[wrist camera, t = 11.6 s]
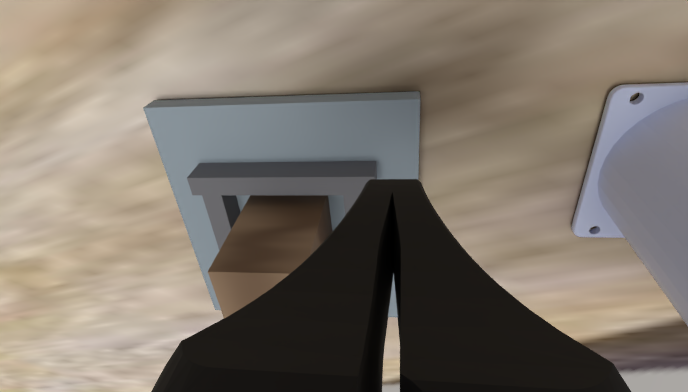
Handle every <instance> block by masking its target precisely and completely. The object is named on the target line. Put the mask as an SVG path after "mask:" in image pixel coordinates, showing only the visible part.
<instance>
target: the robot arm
mask: <svg viewBox="0 0 688 392" xmlns="http://www.w3.org/2000/svg"><path fill="white" fill-rule="evenodd" d="M638 92H639V96H638V98H637V99H635V100H634V101H630V98H631V96H632V95H633V94H635V93H638ZM594 226H597V227H596V228H594V229H591V230H590V228H591V227H594ZM572 231H573V232H574V234H575V235H576V236H578V237H609V238H626V240H627V241H628V243H629V244H630V245H631V247H632V248H633V250H634V251H635V253H636V254H637V255H638V257H639V258H640V260H641V261H642V262H643V264H644V265H645V267H646V268H647V269H648V271H649V272H650V274H651V275H652V276H653V278H654V279H655V281H656V282H657V284H658V285H659V286H660V288H661V289H662V291H663V292H664V293H665V295H666V296H667V298H668V299H669V300H670V302H671V303H672V305H673V306H674V307H675V309H676V310H677V312H678V313H679V315H680V316H681V317H682V319H683V320H684V322H685V323H686V324H687V326H688V82H685V83H656V84H627V85H619V86H617V87H615V88H614V89H613V90H612V91H611V92H610V93H609V95H608V97H607V101H606V105H605V108H604V112H603V115H602V119H601V122H600V126H599V130H598V133H597V137H596V140H595V144H594V147H593V151H592V155H591V158H590V162H589V165H588V169H587V173H586V176H585V180H584V183H583V187H582V190H581V194H580V198H579V201H578V205H577V208H576V212H575V215H574V219H573V223H572ZM393 274H394V282H395V293H396V304H397V315H398V326H399V337H400V392H631V391H630V389H629V388H628V386H627V384H626V383H625V381H624V380H623V378H622V377H621V375H620V374H619V372H618V371H617V369H616V367H615V366H614V364H613V363H612V362H610V361H608V360H607V359H605V358H603V357H602V356H600V355H598V354H597V353H595V352H594V351H592V350H590V349H589V348H587V347H585V346H584V345H582V344H580V343H579V342H577V341H575V340H574V339H572V338H571V337H569V336H567V335H566V334H564V333H562V332H561V331H559V330H558V329H556V328H555V327H553V326H552V325H551V324H549V323H548V322H546V321H545V320H543V319H542V318H541V317H539V316H538V315H536V314H535V313H534V312H532V311H531V310H529V309H528V308H527V307H525V306H524V305H523V304H522V303H520V302H519V301H518V300H517V299H516V298H514V297H513V296H512V295H511V294H509V293H508V292H507V291H506V290H505V289H503V288H502V287H501V286H500V285H499V284H497V283H496V282H495V281H494V280H493V279H492V278H491V277H490V276H489V275H488V274H487V273H486V272H485V271H484V270H483V269H482V268H481V267H480V266H479V265H478V264H477V263H476V262H475V261H474V260H473V259H472V258H471V257H470V256H469V255H468V253H467V252H466V251H465V250H464V249H463V248H462V246H461V245H460V244H459V243H458V241H457V240H456V239H455V238H454V237H453V235H452V234H451V233H450V231H449V230H448V229H447V227H446V226H445V224H444V223H443V221H442V220H441V218H440V217H439V216H438V214H437V213H436V211H435V209H434V208H433V206H432V204H431V203H430V201H429V199H428V197H427V195H426V193H425V191H424V189H423V187H422V184H421V182H420V181H419V180H418V179H370V180H369V181H368V182H367V183H366V184H365V186H364V188H363V190H362V192H361V193H360V195H359V196H358V198H357V200H356V201H355V203H354V204H353V206H352V207H351V208H350V210H349V211H348V212H347V214H346V215H345V216H344V218H343V219H342V221H341V222H340V223H339V224H338V226H337V227H336V228H335V229H334V230H333V231H332V233H331V234H330V235H329V236H328V237H327V238H326V240H325V241H324V242H323V243H322V244H321V245H320V246H319V247H318V248H317V249H316V250H315V251H314V252H313V253H312V254H311V255H310V256H309V257H308V258H307V259H306V260H305V261H304V262H303V263H302V264H301V265H300V266H298V267H297V268H296V269H295V270H294V271H293V272H291V273H290V274H289V275H288V276H287V277H285V278H284V279H283V280H281V281H280V282H279V283H278V284H276V285H275V286H274V287H273V288H271V289H270V290H268V291H267V292H265V293H264V294H263V295H261V296H260V297H258V298H257V299H255V300H254V301H252V302H251V303H249V304H247V305H246V306H244V307H243V308H241V309H239V310H238V311H236V312H235V313H233V314H231V315H229V316H228V317H226V318H224V319H222V320H220V321H219V322H217V323H215V324H213V325H211V326H209V327H207V328H206V329H204V330H202V331H200V332H198V333H196V334H194V335H193V336H191V337H189V338H187V339H185V340H182V341H181V343H180V344H179V346H178V347H177V349H176V351H175V352H174V353H173V355H172V356H171V358H170V359H169V361H168V362H167V364H166V366H165V368H164V369H163V371H162V373H161V375H160V376H159V378H158V380H157V382H156V384H155V386H154V388H153V390H152V392H382V372H383V354H384V344H385V336H386V328H387V321H388V313H389V305H390V298H391V290H392V282H393Z"/></svg>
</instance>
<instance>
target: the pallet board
mask: <svg viewBox="0 0 688 392" xmlns="http://www.w3.org/2000/svg"><path fill="white" fill-rule="evenodd" d="M143 109H144V111H145V114H146V117H147V120H148V123H149V125H150V128H151V131H152V134H153V137H154V139H155V142H156V145H157V148H158V151H159V154H160V156H161V159H162V162H163V165H164V168H165V170H166V173H167V176H168V179H169V182H170V184H171V187H172V190H173V193H174V196H175V198H176V201H177V204H178V207H179V210H180V212H181V215H182V218H183V221H184V224H185V226H186V229H187V232H188V235H189V238H190V240H191V243H192V246H193V249H194V252H195V254H196V257H197V260H198V263H199V266H200V268H201V271H202V274H203V277H204V280H205V282H206V285H207V288H208V291H209V294H210V296H211V299H212V302H213V305H214V308H215V310H221V308H220V305H219V303H218V300H217V297H216V294H215V291H214V288H213V286H212V283H211V280H210V277H209V274H208V270H209V268H210V267H211V265H212V263H213V261H214V259H215V258H216V256H217V254H218V252H219V250H220V249H221V247H222V245H223V243H224V241H225V240H226V238H227V236H228V234H229V233H230V231H231V229H232V227H233V225H234V224H235V222H236V220H237V218H238V216H239V215H240V213H241V211H242V209H243V207H244V206H245V204H246V202H247V200H248V199H249V197H250V195H328V199H329V207H330V215H331V224H332V231H333V230H334V229H335V228H336V227H337V226H338V224H339V223H340V222H341V221H342V219H343V218H344V216H345V215H346V214H347V212H348V211H349V210H350V208H351V207H352V206H353V204H354V203H355V201H356V200H357V198H358V196H359V195H360V193H361V192H362V190H363V188H364V186H365V184H366V183H367V182H368V181H369V180H370V179H418V173H419V133H420V91H413V92H384V93H356V94H327V95H298V96H269V97H240V98H211V99H182V100H154V101H152V102H151V103H149V104H148V105H147V106H145V107H144V108H143ZM388 317H398V315H397V304H396V293H395V282H394V274H393V282H392V290H391V298H390V305H389V313H388Z"/></svg>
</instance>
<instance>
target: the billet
mask: <svg viewBox="0 0 688 392" xmlns="http://www.w3.org/2000/svg"><path fill="white" fill-rule="evenodd" d="M331 233H332V224H331V215H330V207H329V199H328V195H250V197H249V199H248V200H247V202H246V204H245V206H244V207H243V209H242V211H241V213H240V215H239V216H238V218H237V220H236V222H235V224H234V225H233V227H232V229H231V231H230V233H229V234H228V236H227V238H226V240H225V241H224V243H223V245H222V247H221V249H220V250H219V252H218V254H217V256H216V258H215V259H214V261H213V263H212V265H211V267H210V268H209V270H208V274H209V277H210V280H211V283H212V286H213V288H214V291H215V294H216V297H217V300H218V303H219V305H220V308H221V311H222V314H223V317H224V318H226V317H228V316H229V315H231V314H233V313H235V312H236V311H238V310H239V309H241V308H243V307H244V306H246V305H247V304H249V303H251V302H252V301H254V300H255V299H257V298H258V297H260V296H261V295H263V294H264V293H265V292H267V291H268V290H270V289H271V288H273V287H274V286H275V285H276V284H278V283H279V282H280V281H281V280H283V279H284V278H285V277H287V276H288V275H289V274H290V273H291V272H293V271H294V270H295V269H296V268H297V267H298V266H300V265H301V264H302V263H303V262H304V261H305V260H306V259H307V258H308V257H309V256H310V255H311V254H312V253H313V252H314V251H315V250H316V249H317V248H318V247H319V246H320V245H321V244H322V243H323V242H324V241H325V240H326V238H327V237H328V236H329V235H330V234H331Z"/></svg>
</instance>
